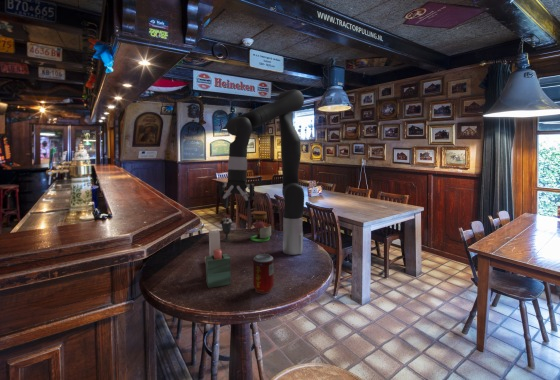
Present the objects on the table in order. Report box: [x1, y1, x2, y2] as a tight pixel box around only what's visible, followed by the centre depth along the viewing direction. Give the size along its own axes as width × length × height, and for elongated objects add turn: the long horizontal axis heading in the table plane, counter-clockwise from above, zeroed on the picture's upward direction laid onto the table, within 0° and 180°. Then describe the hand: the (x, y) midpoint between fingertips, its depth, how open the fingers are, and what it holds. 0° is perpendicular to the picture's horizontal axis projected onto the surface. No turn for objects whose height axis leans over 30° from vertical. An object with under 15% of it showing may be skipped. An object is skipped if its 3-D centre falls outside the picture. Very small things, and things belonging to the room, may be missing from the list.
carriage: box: [208, 229, 221, 256], centre depth 115 cm, size 6×5×17 cm
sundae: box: [219, 212, 233, 243], centre depth 162 cm, size 7×7×15 cm
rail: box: [204, 253, 232, 289], centre depth 119 cm, size 26×8×10 cm, turn 22°
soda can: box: [252, 253, 274, 294], centre depth 105 cm, size 7×7×12 cm
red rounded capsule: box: [214, 248, 223, 260], centre depth 109 cm, size 3×3×5 cm
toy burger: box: [250, 210, 272, 243], centre depth 164 cm, size 12×13×15 cm
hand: (236, 208), depth 121 cm, fingers open, 8 cm apart
